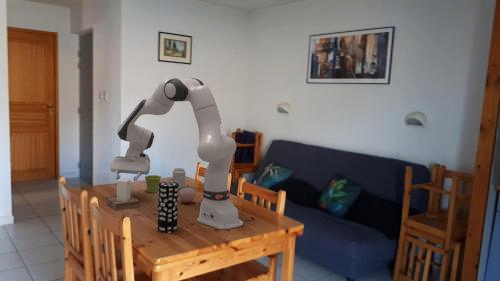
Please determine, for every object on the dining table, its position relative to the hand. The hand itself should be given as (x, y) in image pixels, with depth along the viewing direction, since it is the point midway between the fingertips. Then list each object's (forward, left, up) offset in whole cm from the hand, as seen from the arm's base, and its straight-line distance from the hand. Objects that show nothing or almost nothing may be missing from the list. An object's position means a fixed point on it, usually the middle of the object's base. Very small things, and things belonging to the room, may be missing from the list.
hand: (126, 179), depth 205 cm
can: (+16, -40, -13) cm, 45 cm away
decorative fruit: (-14, -28, -13) cm, 34 cm away
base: (-2, +2, -13) cm, 13 cm away
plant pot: (+16, -23, -13) cm, 31 cm away
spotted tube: (-44, 0, -13) cm, 46 cm away
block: (-2, +2, -10) cm, 10 cm away
